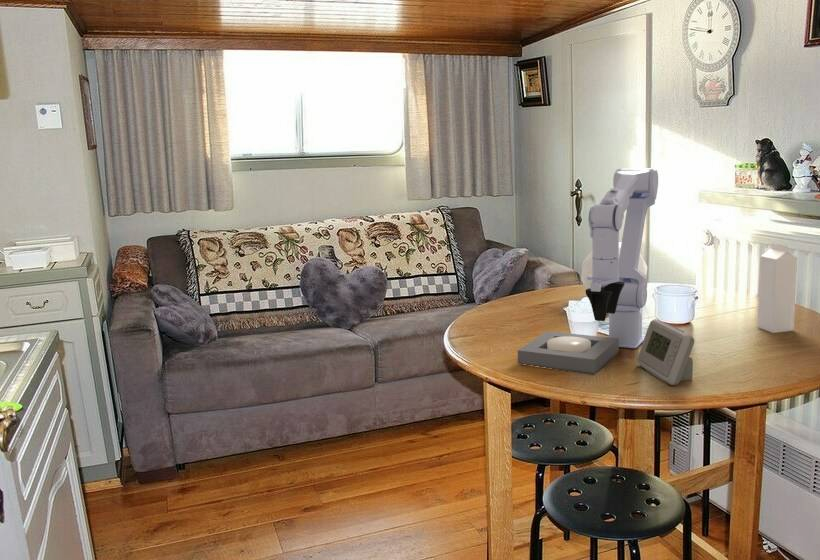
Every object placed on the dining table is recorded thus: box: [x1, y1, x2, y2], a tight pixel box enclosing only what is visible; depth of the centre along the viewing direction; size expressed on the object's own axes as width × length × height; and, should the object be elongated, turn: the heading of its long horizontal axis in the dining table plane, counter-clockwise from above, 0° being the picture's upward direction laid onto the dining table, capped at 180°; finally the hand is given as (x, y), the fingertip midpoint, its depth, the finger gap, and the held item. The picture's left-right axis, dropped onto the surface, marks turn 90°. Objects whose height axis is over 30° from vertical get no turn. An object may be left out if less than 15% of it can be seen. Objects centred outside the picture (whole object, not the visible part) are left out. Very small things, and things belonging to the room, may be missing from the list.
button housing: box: [517, 330, 620, 376], centre depth 169 cm, size 18×18×4 cm
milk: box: [757, 242, 798, 334], centre depth 183 cm, size 6×6×22 cm
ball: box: [580, 241, 648, 290], centre depth 220 cm, size 19×20×20 cm
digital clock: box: [636, 318, 695, 386], centre depth 154 cm, size 16×9×11 cm, turn 177°
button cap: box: [547, 336, 591, 353], centre depth 169 cm, size 10×10×3 cm
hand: (605, 316), depth 165 cm, fingers open, 7 cm apart
